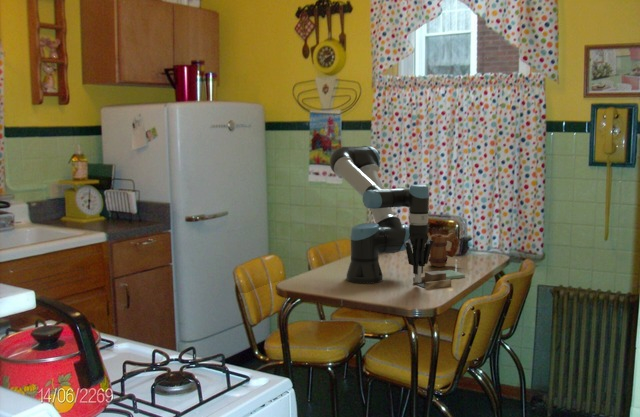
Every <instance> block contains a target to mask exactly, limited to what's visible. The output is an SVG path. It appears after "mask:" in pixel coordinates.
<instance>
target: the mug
mask: <svg viewBox="0 0 640 417" xmlns="http://www.w3.org/2000/svg"><path fill="white" fill-rule="evenodd" d="M430 240H433V244H432V246H431V250H430V254H429V259H428V262H429V265H430V266H433V267H436V268H442V267H444V266H446V265H447V262H448V259H449V258H453V257H455V255H456V253H457V252H458V248H459V238H458V236H457V235H456V234H455V233H453V232H450V233H448V234H447V235H443V234H438V235H437V234H434V235H433V234H432V235H431V238H430ZM448 242H450V243H451V247H450V249H448V250H447V245H448ZM448 257H449V258H448Z"/></svg>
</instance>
